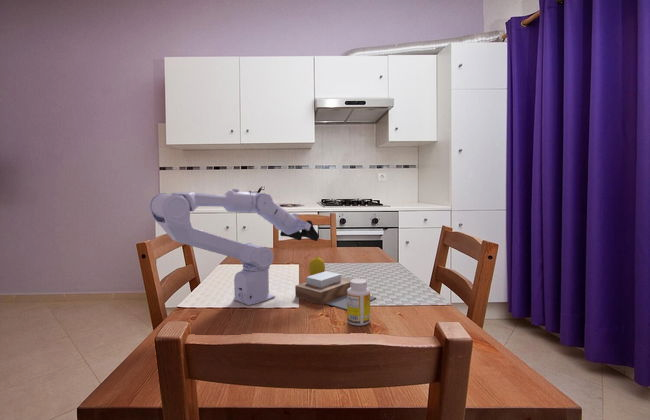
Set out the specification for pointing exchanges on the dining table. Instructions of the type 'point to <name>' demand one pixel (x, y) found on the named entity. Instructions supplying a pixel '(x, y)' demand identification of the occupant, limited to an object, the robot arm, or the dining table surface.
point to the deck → (322, 291)
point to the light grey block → (323, 279)
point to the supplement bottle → (358, 303)
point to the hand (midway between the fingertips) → (309, 237)
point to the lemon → (316, 266)
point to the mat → (342, 302)
